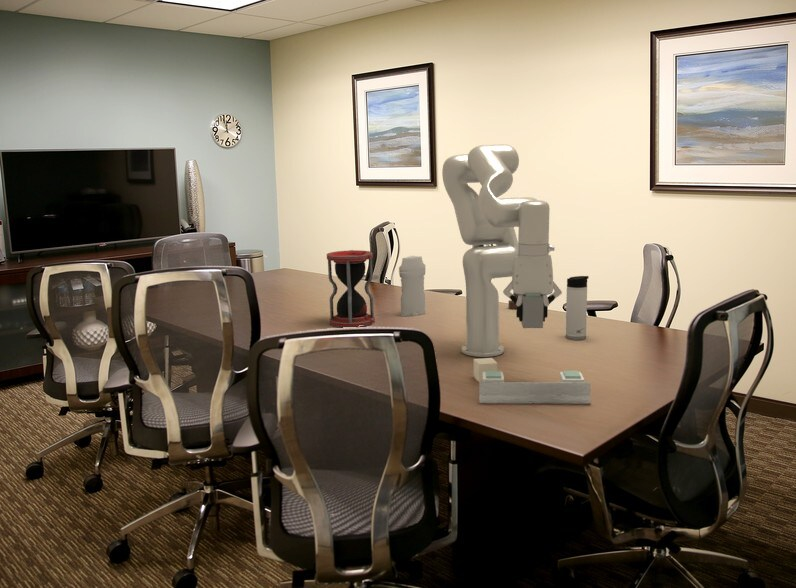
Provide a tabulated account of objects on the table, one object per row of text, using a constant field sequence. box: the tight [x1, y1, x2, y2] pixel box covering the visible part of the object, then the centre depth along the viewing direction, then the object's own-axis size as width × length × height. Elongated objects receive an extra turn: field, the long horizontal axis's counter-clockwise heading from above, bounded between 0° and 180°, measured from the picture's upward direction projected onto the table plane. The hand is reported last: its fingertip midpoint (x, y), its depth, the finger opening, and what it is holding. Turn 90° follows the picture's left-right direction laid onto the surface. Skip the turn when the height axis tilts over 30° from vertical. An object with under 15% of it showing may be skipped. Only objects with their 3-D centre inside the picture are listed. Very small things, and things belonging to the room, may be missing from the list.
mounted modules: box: [483, 370, 585, 382], centre depth 179 cm, size 6×24×6 cm, turn 85°
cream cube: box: [473, 357, 498, 383], centre depth 192 cm, size 5×5×5 cm
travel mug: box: [565, 275, 589, 341], centre depth 229 cm, size 6×7×20 cm
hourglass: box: [326, 249, 376, 328], centre depth 257 cm, size 16×16×25 cm
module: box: [520, 294, 544, 329], centre depth 186 cm, size 7×5×8 cm
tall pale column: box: [398, 255, 426, 318], centre depth 267 cm, size 11×4×22 cm, turn 114°
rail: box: [478, 381, 591, 405], centre depth 174 cm, size 2×26×5 cm, turn 85°
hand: (531, 319), depth 187 cm, fingers closed on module, 5 cm apart
